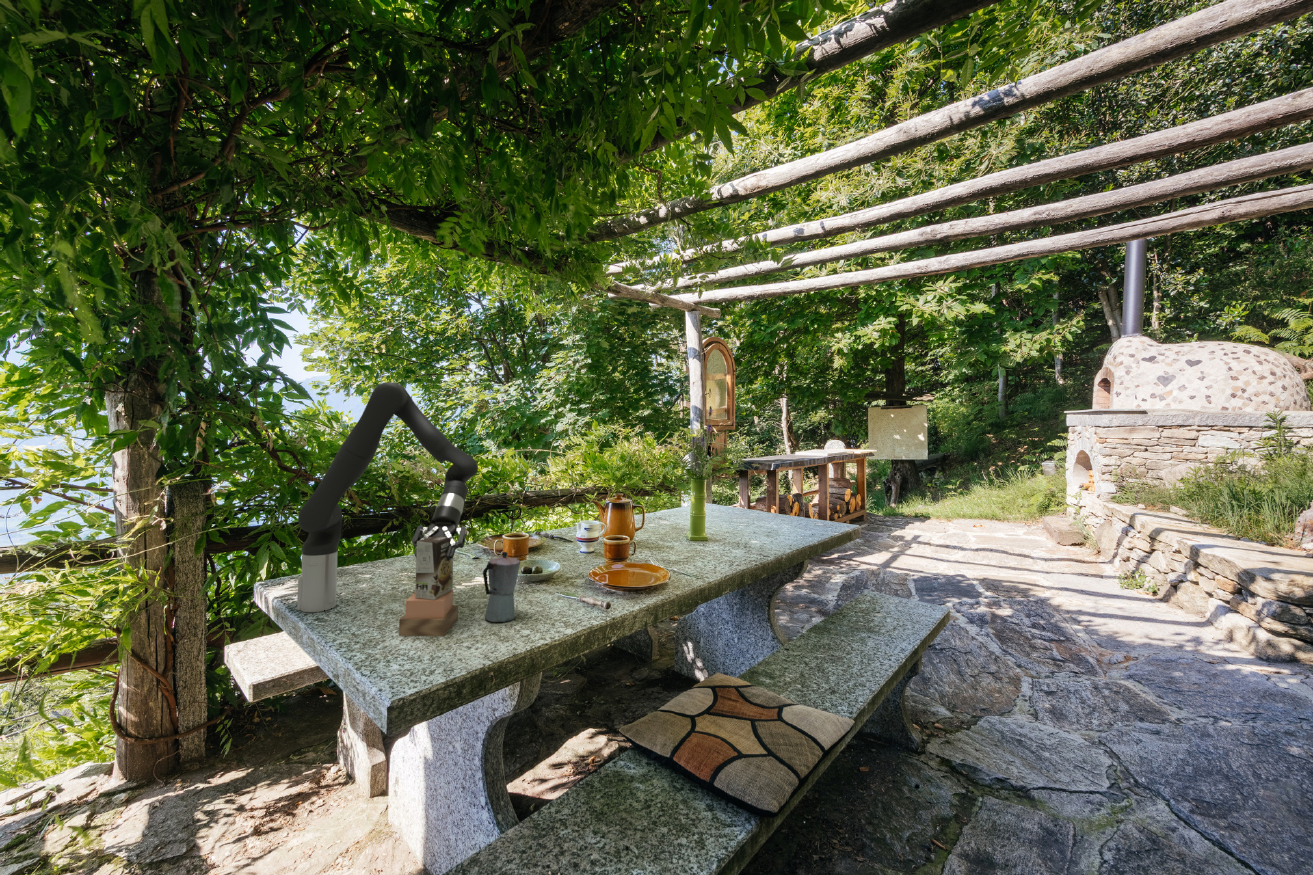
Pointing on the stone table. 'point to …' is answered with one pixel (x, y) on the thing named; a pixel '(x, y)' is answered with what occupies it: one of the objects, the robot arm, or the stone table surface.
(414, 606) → the tower top block
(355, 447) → the robot arm
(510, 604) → the moka pot
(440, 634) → the tower base block
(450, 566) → the coffee box
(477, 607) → the stone table surface
